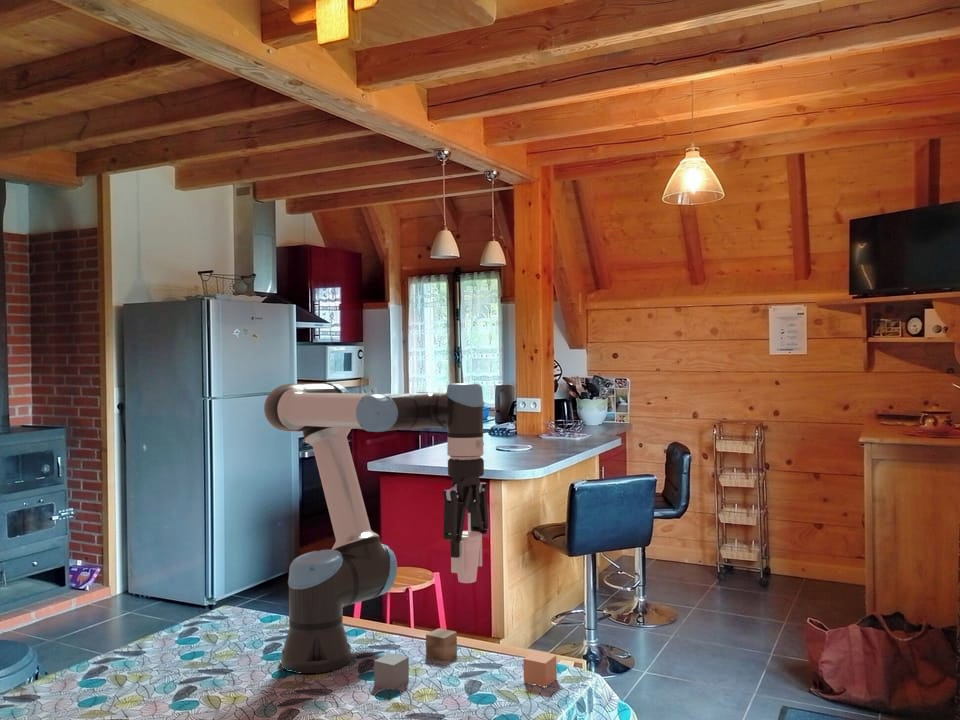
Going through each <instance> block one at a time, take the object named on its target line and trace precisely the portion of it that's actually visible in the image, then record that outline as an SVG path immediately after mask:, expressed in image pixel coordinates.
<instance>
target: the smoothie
mask: <svg viewBox="0 0 960 720" xmlns="http://www.w3.org/2000/svg"><path fill="white" fill-rule="evenodd" d="M481 539H482V540H483V534H482V533H480V532H476V531H471V517H470V513H468V512H467V530H463V532H462V539H461V541H464V574H459V573H456V574H457V579H458V583H460V584H461V583H462V584H472V583H475V582H477V577H478V569H479V568H478V567H479V566H478V559H479V550H480V540H481Z"/></svg>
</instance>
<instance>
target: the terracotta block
mask: <svg viewBox="0 0 960 720" xmlns="http://www.w3.org/2000/svg"><path fill="white" fill-rule="evenodd" d="M557 673H558V671H557V655H555V654H551V653H546V652H541V651H538V650H537V651H535V650H534V651H532V652H531V653H530V654H529V655H526V656H525V657H524V658H523V683H524V682H525V683H530V684H536V685H541V686H545V687H546V686H548V685H549V684H550V685H552V684H553V683H554V682H555V681H557V680H556V679H558V677H557V675H558V674H557ZM553 681H554V682H553ZM552 682H553V683H552ZM525 683H524V684H525ZM551 683H552V684H551ZM530 684H529V685H530ZM550 685H549V686H550ZM549 686H548V687H549Z"/></svg>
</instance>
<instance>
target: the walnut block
mask: <svg viewBox="0 0 960 720" xmlns="http://www.w3.org/2000/svg"><path fill="white" fill-rule="evenodd" d="M457 634H458V632H457V631H455V630H449V629H444V628H440V627H439V628H435V630H432V631H430V632H428V633H425V657H426V658H431V659H435V660H438V661H444V662H445V661H447V660H449V659H450V658H452V657H454V656H456V655H457V654H458V635H457Z"/></svg>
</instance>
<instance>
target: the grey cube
mask: <svg viewBox="0 0 960 720" xmlns="http://www.w3.org/2000/svg"><path fill="white" fill-rule="evenodd" d="M373 661H374V662H373V666H374V667H373V668H374V669H373V671H374V673H373V675H374V677H373V679H374V681H373V682H374V683H373V685H374V686H377V687H381V688H384V689H388V690H392V691H395V690H396V689H398V688H400V687H401V686H403V685H405V684H407V683H408V682H410V674H409V673H410V671H409V670H410V668H409V665H410V664H409V663H410V662H409V661H410V660H409V656H404V655H400V654H396V653H391V652H389V653H387V654H385V655H382V656H381V657H379V658H377V659H375V660H373Z"/></svg>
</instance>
